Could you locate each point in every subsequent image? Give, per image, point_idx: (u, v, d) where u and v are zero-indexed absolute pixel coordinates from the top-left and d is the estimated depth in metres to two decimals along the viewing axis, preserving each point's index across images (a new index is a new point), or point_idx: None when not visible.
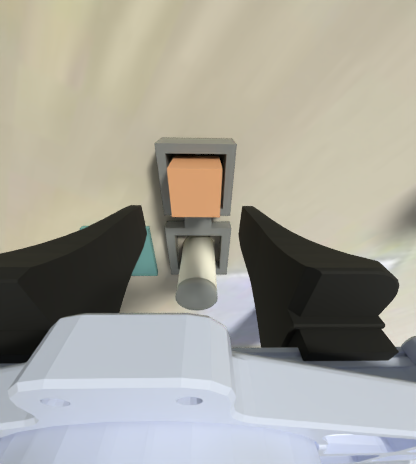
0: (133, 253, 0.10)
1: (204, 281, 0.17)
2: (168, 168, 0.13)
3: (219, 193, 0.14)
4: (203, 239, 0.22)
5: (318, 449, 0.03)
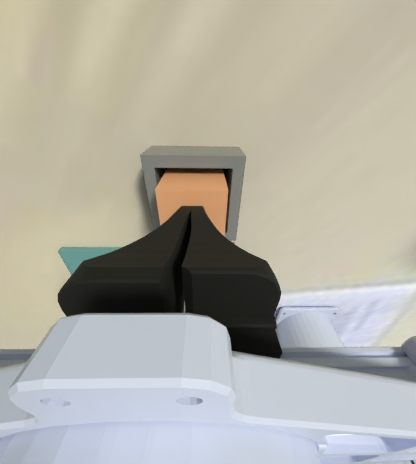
0: None
1: None
2: (157, 189, 0.10)
3: (223, 219, 0.11)
4: None
5: (318, 449, 0.03)
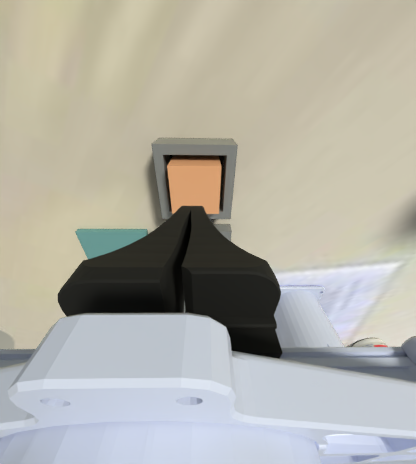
0: None
1: None
2: (168, 165, 0.14)
3: (218, 190, 0.15)
4: None
5: (318, 449, 0.03)
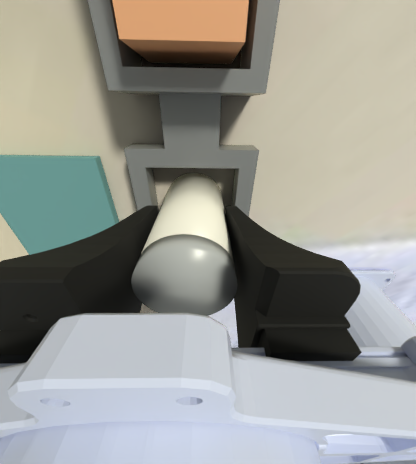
0: None
1: (205, 243, 0.06)
2: None
3: None
4: (203, 180, 0.12)
5: (318, 449, 0.03)
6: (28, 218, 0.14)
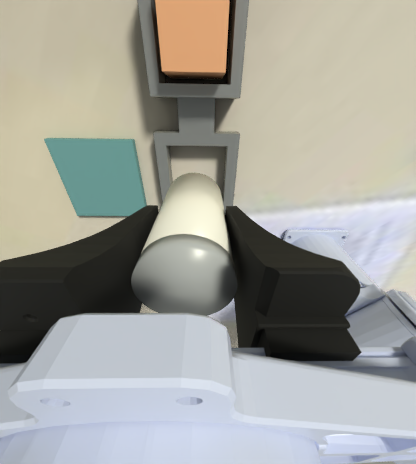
0: None
1: (204, 243, 0.06)
2: None
3: (226, 22, 0.11)
4: (203, 180, 0.12)
5: (318, 449, 0.03)
6: (80, 184, 0.19)
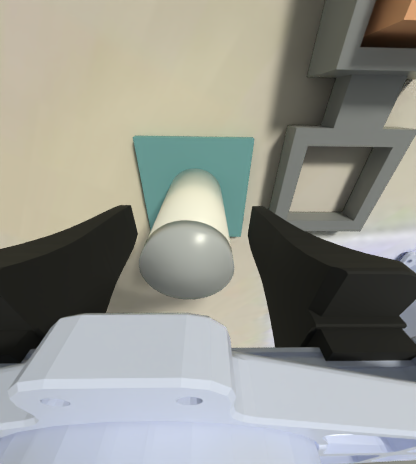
0: (121, 253, 0.10)
1: (205, 228, 0.07)
2: None
3: None
4: (203, 174, 0.13)
5: (318, 449, 0.03)
6: None
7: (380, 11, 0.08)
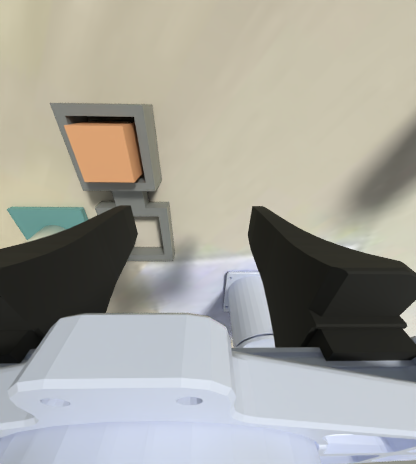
0: (121, 253, 0.10)
1: None
2: (66, 125, 0.13)
3: (126, 154, 0.14)
4: (51, 231, 0.21)
5: (318, 449, 0.03)
6: None
7: None
